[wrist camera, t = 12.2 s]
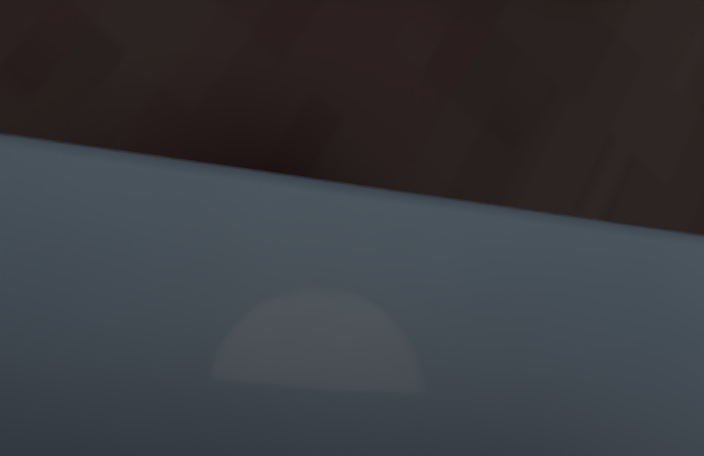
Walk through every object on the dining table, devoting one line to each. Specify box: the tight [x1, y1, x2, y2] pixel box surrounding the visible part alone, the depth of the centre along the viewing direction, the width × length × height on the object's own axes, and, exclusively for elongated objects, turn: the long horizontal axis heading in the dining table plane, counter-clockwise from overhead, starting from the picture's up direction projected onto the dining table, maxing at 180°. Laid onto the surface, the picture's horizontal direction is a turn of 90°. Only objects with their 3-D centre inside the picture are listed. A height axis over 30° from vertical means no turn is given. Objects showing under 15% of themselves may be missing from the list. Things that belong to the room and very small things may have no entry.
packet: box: [0, 133, 704, 456], centre depth 9 cm, size 6×5×13 cm
